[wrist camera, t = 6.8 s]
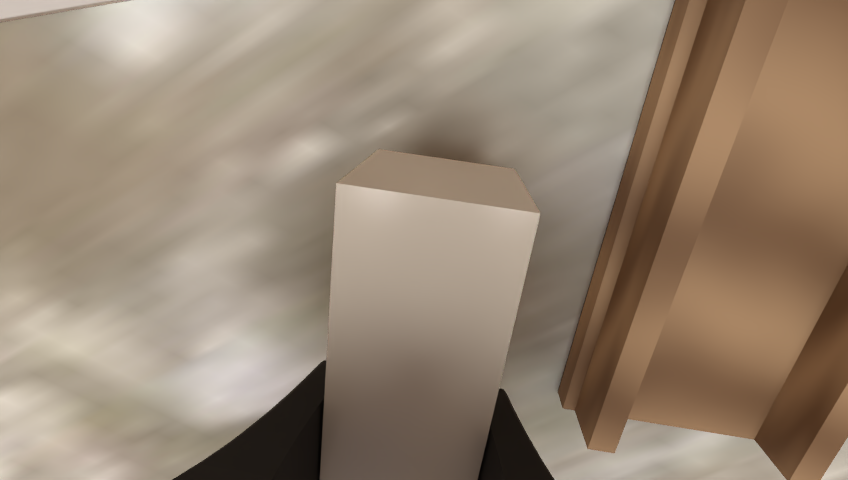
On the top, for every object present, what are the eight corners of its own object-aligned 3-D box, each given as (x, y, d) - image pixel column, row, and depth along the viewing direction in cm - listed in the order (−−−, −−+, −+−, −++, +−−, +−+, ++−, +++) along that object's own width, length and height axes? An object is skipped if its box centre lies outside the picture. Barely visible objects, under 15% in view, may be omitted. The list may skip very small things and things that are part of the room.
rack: (774, 427, 19) (829, 488, 16) (557, 392, 19) (574, 446, 16) (1000, 15, 13) (1150, -2, 10) (682, -25, 13) (742, -53, 10)
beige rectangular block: (447, 497, 15) (441, 630, 12) (349, 480, 16) (312, 606, 12) (514, 169, 11) (540, 213, 7) (378, 149, 11) (336, 183, 8)
